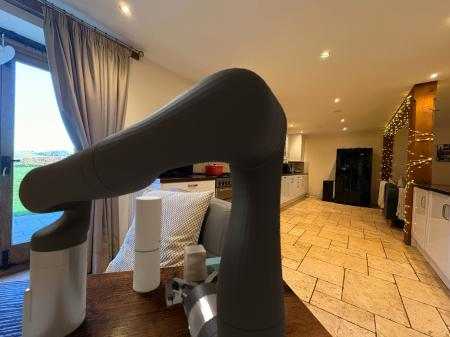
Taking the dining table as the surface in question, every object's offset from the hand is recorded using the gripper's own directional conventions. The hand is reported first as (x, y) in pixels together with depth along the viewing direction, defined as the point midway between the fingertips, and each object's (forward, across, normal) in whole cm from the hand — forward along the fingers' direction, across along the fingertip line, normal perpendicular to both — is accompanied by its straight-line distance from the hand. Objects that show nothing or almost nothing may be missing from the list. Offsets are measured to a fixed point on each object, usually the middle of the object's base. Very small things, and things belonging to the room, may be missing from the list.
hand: (192, 271), depth 50 cm
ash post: (-2, 0, +8) cm, 8 cm away
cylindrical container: (+11, +11, +8) cm, 17 cm away
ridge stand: (+7, -8, +8) cm, 13 cm away
